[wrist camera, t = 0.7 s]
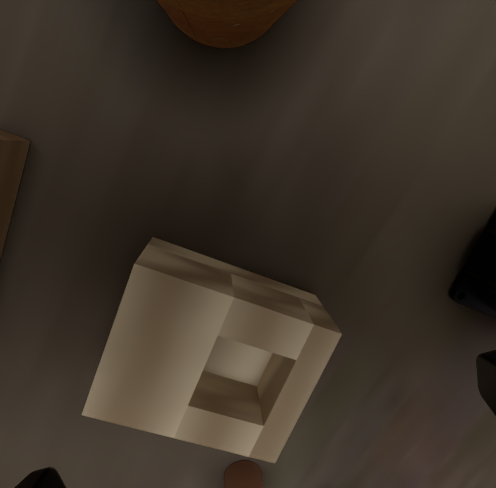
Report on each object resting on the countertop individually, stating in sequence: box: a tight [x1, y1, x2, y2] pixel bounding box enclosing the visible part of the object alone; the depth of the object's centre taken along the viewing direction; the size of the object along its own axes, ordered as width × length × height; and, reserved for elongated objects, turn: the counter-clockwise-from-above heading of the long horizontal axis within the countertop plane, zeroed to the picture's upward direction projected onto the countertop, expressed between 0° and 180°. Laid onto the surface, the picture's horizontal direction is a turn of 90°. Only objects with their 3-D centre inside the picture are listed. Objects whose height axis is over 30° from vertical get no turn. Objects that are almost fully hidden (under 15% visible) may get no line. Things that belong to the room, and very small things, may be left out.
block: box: [82, 237, 342, 463], centre depth 18 cm, size 10×8×4 cm
